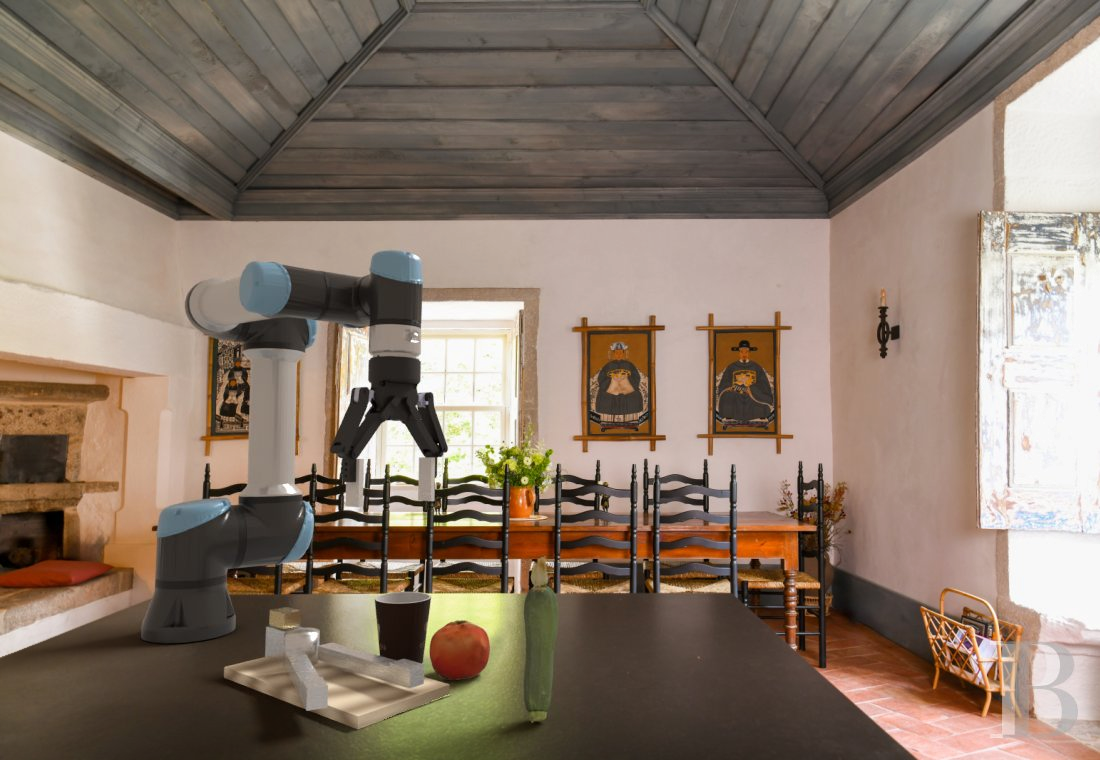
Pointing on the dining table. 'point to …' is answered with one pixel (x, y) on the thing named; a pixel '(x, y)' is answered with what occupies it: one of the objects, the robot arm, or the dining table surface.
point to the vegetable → (539, 642)
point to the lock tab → (285, 617)
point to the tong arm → (306, 680)
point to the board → (338, 691)
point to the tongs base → (341, 656)
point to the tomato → (459, 650)
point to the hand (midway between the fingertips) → (392, 503)
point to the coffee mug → (402, 624)
